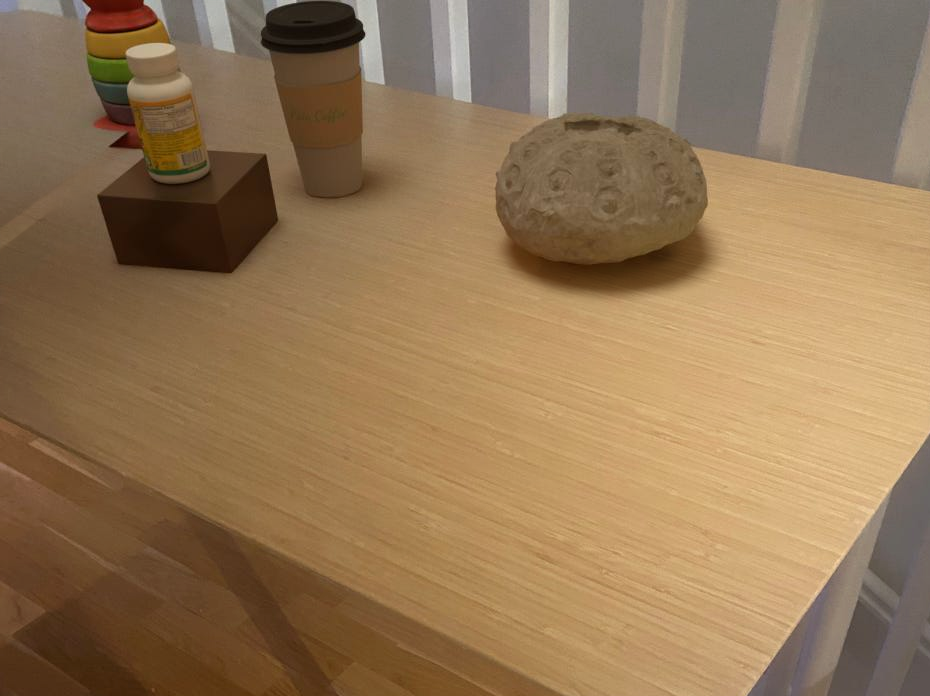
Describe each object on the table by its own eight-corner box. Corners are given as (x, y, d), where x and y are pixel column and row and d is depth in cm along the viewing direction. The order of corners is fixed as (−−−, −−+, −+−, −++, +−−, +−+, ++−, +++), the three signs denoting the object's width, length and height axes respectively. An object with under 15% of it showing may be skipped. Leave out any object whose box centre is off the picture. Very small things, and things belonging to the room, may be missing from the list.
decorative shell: (593, 187, 95) (598, 73, 88) (743, 243, 86) (762, 120, 79) (456, 247, 87) (449, 127, 80) (604, 316, 78) (612, 187, 71)
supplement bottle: (203, 184, 84) (174, 59, 77) (142, 186, 84) (107, 61, 77) (217, 160, 88) (190, 38, 81) (158, 162, 88) (127, 40, 81)
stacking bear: (144, 111, 115) (96, -74, 102) (214, 122, 112) (173, -68, 99) (81, 143, 109) (21, -50, 96) (153, 155, 105) (101, -42, 92)
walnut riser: (117, 263, 88) (96, 195, 83) (172, 212, 95) (155, 146, 91) (231, 273, 85) (215, 203, 81) (278, 219, 93) (266, 153, 88)
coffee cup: (302, 212, 94) (272, 34, 83) (275, 178, 100) (244, 7, 89) (394, 193, 96) (377, 17, 85) (362, 160, 102) (343, -8, 91)
